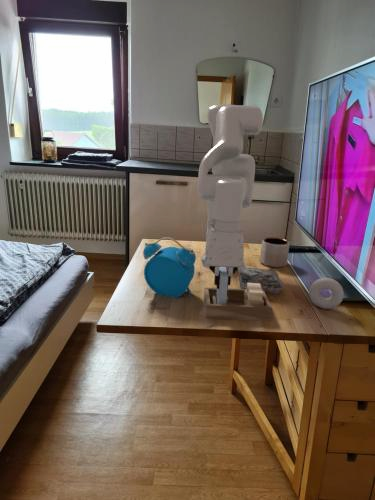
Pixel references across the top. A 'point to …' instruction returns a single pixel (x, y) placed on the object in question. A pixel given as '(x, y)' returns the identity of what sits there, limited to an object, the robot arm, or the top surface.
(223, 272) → the light blue flat box
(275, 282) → the rock
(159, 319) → the top surface
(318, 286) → the tape roll
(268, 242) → the planter
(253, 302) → the block
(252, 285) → the offcut top
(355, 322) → the top surface
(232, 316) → the rack
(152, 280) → the alarm clock
